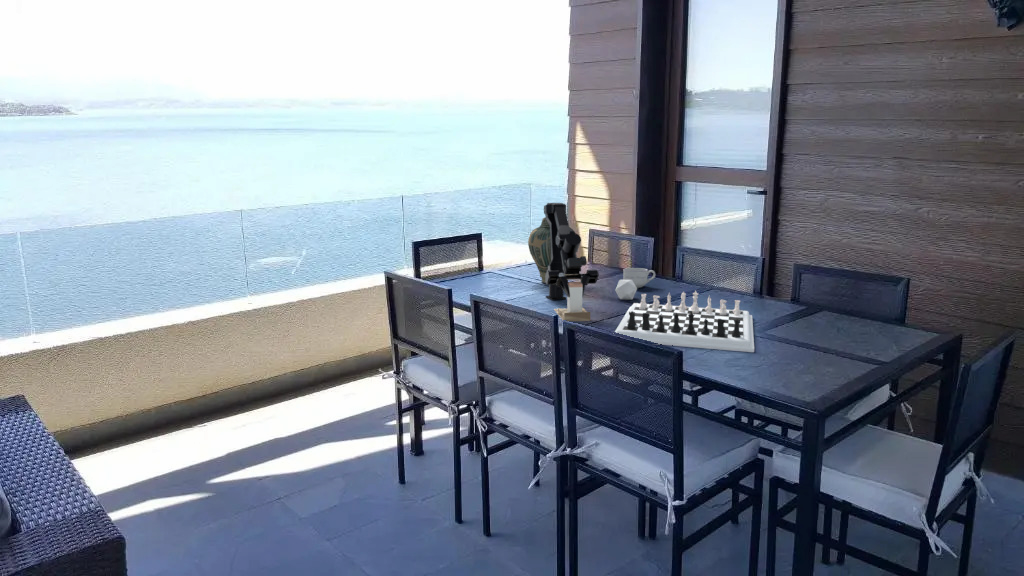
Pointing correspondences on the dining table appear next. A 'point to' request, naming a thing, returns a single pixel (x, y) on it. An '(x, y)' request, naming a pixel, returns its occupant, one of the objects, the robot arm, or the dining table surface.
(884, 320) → the dining table surface
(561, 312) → the tray
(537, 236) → the vase
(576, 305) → the block
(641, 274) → the teacup
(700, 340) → the chess set
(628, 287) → the die
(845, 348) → the dining table surface
